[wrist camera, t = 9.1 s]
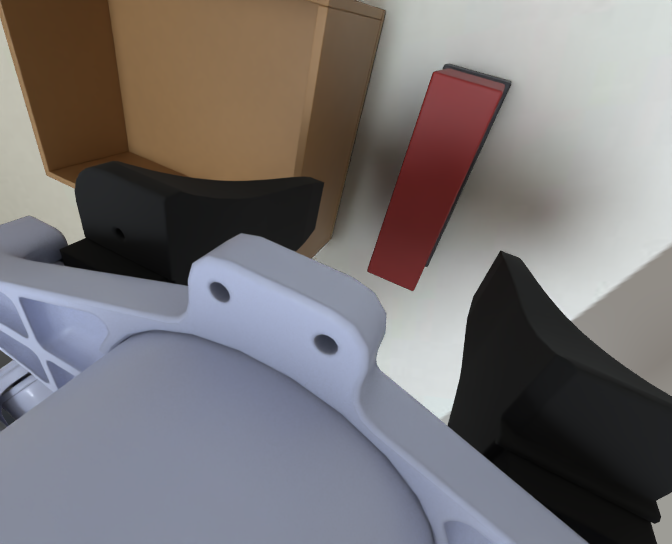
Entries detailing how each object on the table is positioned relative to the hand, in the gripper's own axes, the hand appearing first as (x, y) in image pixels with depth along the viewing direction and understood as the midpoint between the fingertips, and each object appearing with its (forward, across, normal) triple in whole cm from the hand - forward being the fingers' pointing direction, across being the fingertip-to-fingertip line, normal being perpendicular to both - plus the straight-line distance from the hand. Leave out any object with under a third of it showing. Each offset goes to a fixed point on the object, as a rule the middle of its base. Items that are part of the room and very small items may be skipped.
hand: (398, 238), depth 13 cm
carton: (+8, +14, 0) cm, 16 cm away
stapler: (+8, 0, 0) cm, 8 cm away
